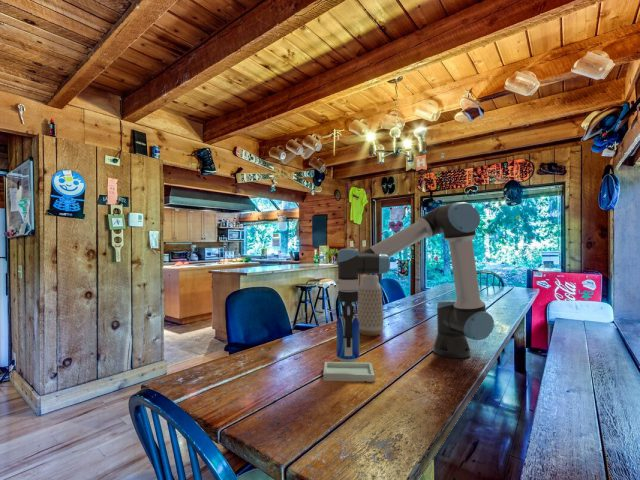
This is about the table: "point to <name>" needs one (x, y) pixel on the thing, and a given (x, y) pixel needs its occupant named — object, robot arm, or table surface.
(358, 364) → the tray
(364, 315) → the vase
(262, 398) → the table surface
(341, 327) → the beer can
